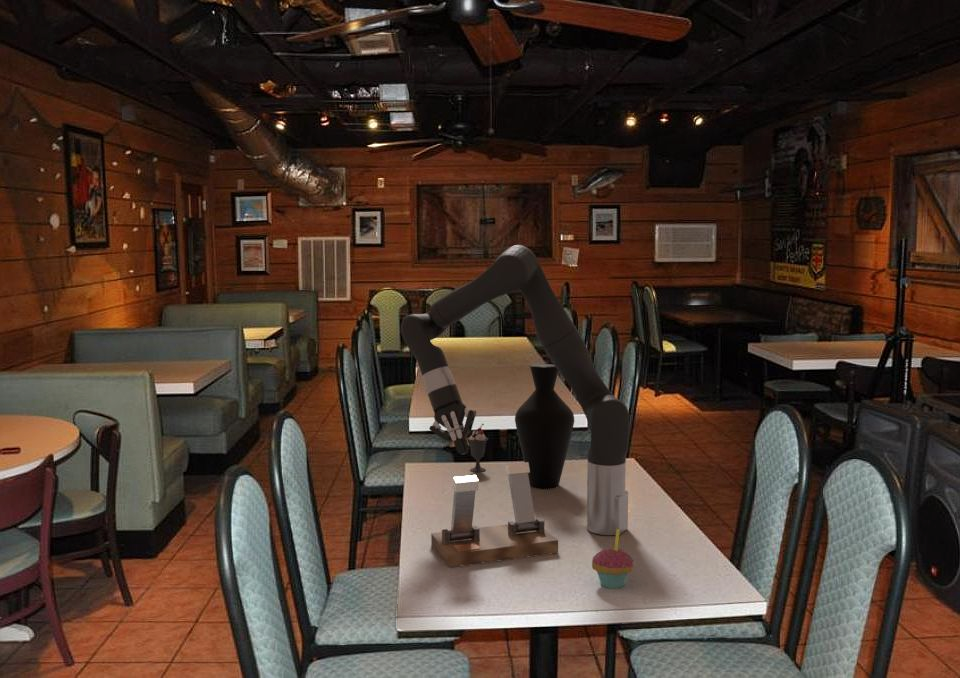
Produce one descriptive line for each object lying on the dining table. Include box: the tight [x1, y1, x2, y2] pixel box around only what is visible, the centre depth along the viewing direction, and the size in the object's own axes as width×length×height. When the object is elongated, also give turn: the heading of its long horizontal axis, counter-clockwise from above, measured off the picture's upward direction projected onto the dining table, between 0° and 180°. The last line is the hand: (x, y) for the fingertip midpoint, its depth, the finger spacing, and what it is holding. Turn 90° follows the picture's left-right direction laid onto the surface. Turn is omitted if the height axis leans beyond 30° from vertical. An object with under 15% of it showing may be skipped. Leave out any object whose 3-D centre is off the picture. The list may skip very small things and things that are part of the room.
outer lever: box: [448, 474, 480, 541], centre depth 186 cm, size 5×2×16 cm, turn 109°
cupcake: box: [591, 525, 634, 589], centre depth 171 cm, size 9×8×12 cm
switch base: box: [430, 517, 559, 568], centre depth 191 cm, size 26×14×6 cm, turn 109°
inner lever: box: [504, 462, 539, 533], centre depth 196 cm, size 5×2×16 cm, turn 109°
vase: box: [514, 363, 575, 490], centre depth 240 cm, size 17×17×35 cm
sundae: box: [466, 423, 490, 473], centre depth 257 cm, size 7×7×15 cm
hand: (464, 453), depth 205 cm, fingers closed
